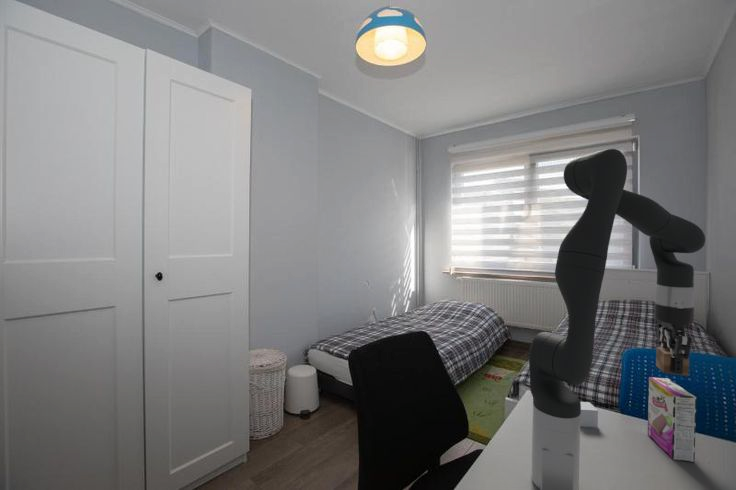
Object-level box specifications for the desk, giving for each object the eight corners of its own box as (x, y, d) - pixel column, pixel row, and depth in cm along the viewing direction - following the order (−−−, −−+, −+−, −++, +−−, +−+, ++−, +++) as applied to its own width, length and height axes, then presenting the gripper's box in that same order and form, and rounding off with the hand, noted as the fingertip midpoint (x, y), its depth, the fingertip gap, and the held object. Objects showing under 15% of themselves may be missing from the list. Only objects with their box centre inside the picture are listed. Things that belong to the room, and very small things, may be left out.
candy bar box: (645, 434, 97) (647, 376, 96) (666, 436, 96) (668, 377, 95) (672, 460, 86) (674, 394, 85) (695, 463, 85) (698, 396, 84)
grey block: (597, 427, 100) (598, 410, 100) (579, 426, 101) (579, 409, 101) (589, 418, 105) (589, 402, 105) (571, 417, 106) (571, 401, 106)
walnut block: (688, 375, 87) (689, 355, 87) (663, 372, 89) (664, 353, 88) (679, 368, 91) (680, 349, 91) (655, 365, 93) (656, 347, 93)
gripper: (645, 297, 97) (643, 357, 98) (667, 307, 84) (664, 377, 85) (679, 299, 95) (677, 361, 95) (707, 310, 81) (704, 382, 82)
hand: (671, 368), depth 90 cm, fingers closed on walnut block, 5 cm apart
